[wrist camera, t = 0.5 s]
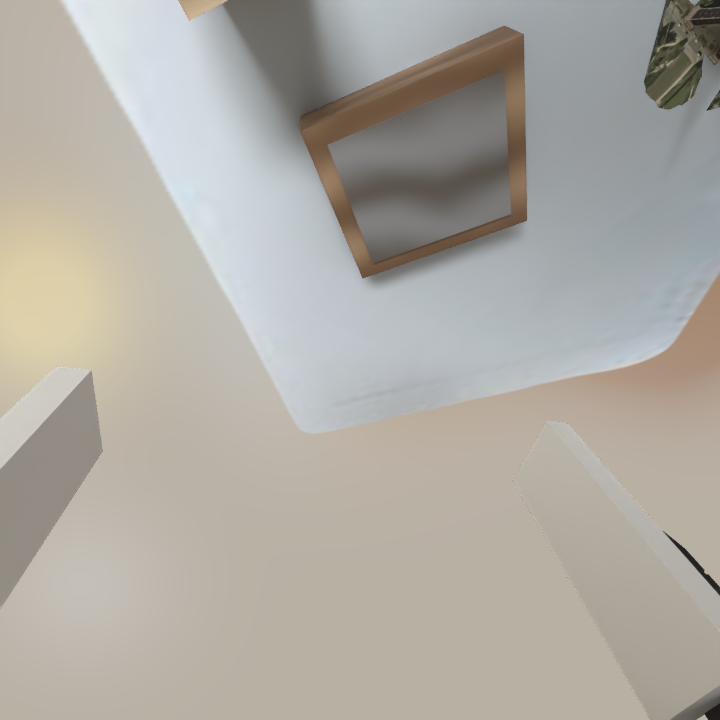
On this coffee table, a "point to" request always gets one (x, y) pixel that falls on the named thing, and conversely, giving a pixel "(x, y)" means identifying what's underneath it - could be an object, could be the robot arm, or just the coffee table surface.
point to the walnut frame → (427, 153)
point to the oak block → (198, 6)
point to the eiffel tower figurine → (683, 51)
